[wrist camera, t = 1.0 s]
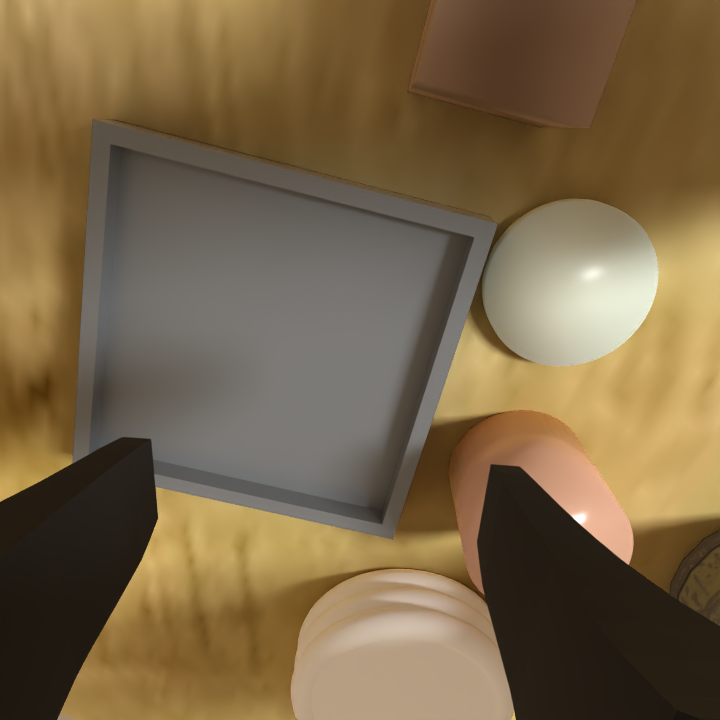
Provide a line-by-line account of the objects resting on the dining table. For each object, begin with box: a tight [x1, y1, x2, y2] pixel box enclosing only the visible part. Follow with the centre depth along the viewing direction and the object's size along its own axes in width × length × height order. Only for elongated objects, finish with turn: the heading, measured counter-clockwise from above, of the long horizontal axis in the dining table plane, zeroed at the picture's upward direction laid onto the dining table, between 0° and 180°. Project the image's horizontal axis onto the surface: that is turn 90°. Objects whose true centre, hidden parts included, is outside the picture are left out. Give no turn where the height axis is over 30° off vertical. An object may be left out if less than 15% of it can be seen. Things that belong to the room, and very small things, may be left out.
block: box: [408, 0, 637, 128], centre depth 16 cm, size 4×4×5 cm
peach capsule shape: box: [449, 410, 634, 595], centre depth 22 cm, size 6×6×5 cm
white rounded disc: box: [482, 198, 658, 366], centre depth 21 cm, size 6×6×1 cm
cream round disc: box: [291, 569, 514, 720], centre depth 27 cm, size 10×10×4 cm
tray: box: [72, 119, 498, 539], centre depth 21 cm, size 13×13×2 cm
